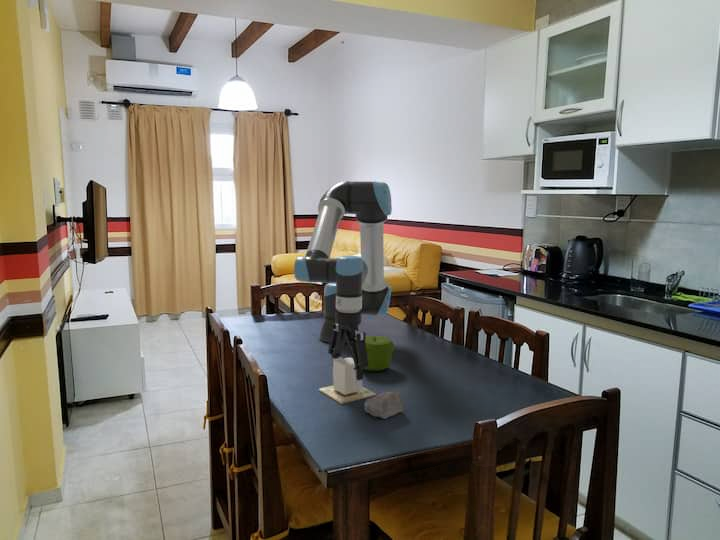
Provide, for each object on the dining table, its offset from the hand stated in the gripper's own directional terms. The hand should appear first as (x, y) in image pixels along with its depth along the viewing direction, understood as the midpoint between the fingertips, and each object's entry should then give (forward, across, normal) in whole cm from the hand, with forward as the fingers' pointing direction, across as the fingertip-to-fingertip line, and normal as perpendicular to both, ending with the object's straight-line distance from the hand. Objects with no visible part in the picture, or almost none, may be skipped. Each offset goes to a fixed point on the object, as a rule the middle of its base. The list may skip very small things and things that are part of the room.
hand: (347, 384), depth 156 cm
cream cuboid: (+2, 0, 0) cm, 2 cm away
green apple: (+3, -13, +20) cm, 24 cm away
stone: (+3, +17, 0) cm, 18 cm away
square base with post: (+3, 0, 0) cm, 3 cm away
